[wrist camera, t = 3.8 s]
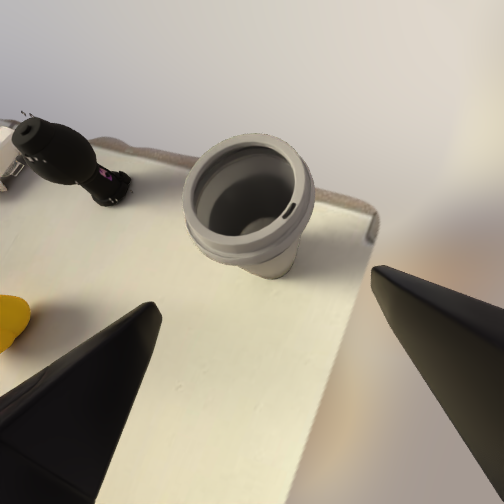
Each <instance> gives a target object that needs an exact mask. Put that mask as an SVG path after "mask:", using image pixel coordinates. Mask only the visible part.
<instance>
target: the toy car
mask: <svg viewBox="0 0 504 504" xmlns="http://www.w3.org/2000/svg"><path fill="white" fill-rule="evenodd" d="M13 132H14V130H12V129H10V128H7V127H2V126H1V127H0V177H1V176H2V175H6V174H8V173H9V172H11V173H10V174H9V175H11V174H12V173H13V172H14V171H15V170H16V168H17V167H18V166H19V164H21V163H19V162H18V161H17V160H16V157H17V156H19V155H22V153H21V152H20V151H19V150H18V149H17V148H16V147H15V146H14V145H13V143H12V140H11V139H12V135H13ZM15 161H16V166H15V168H14V165H15V164H14V162H15ZM12 162H13V163H12ZM11 163H12V164H13V167H12V164H11ZM22 165H23V164H22ZM9 166H10V167H9ZM8 167H9V168H10V170H9V168H8ZM23 167H24V165H23ZM23 167H22V168H23ZM22 168H21V169H22ZM21 169H20V170H19V172H20V171H21ZM12 170H13V171H12ZM5 171H6V172H5ZM7 171H8V172H7ZM19 172H18V173H19ZM4 173H6V174H4ZM18 173H17V174H16V176H17V175H18ZM9 175H8V176H9ZM12 175H13V174H12ZM14 176H15V175H14ZM2 177H6V176H2ZM4 186H5V185H4ZM4 186H3V184H2V182H1V180H0V191H7V189H6V188H5V187H4Z"/></svg>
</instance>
